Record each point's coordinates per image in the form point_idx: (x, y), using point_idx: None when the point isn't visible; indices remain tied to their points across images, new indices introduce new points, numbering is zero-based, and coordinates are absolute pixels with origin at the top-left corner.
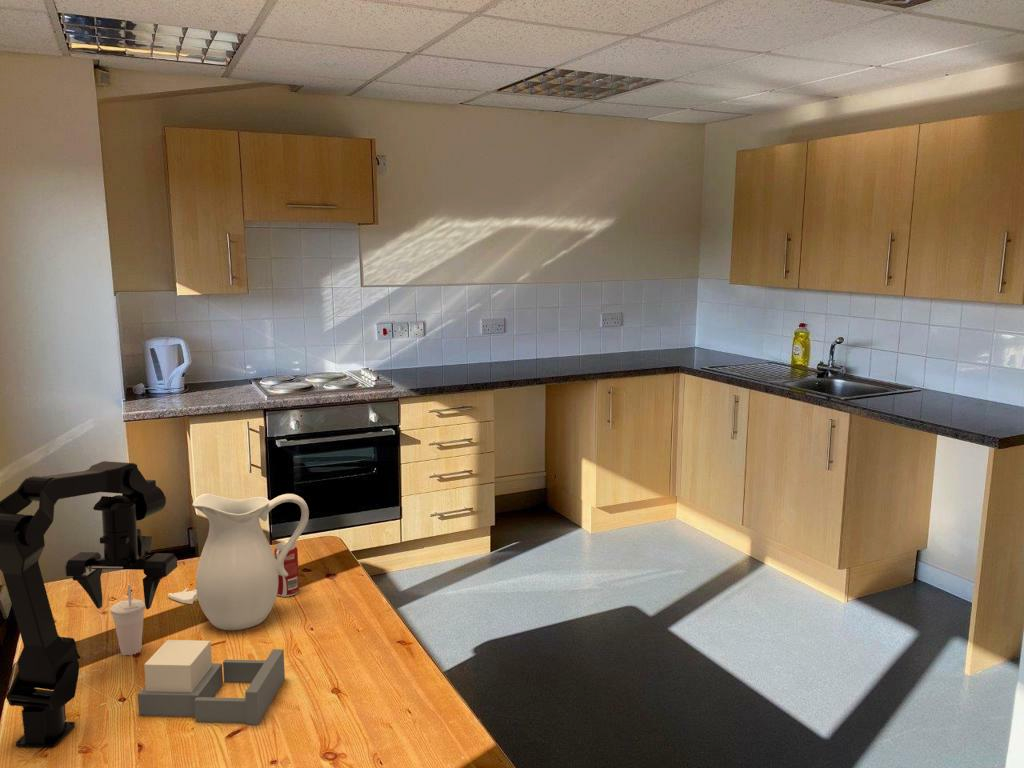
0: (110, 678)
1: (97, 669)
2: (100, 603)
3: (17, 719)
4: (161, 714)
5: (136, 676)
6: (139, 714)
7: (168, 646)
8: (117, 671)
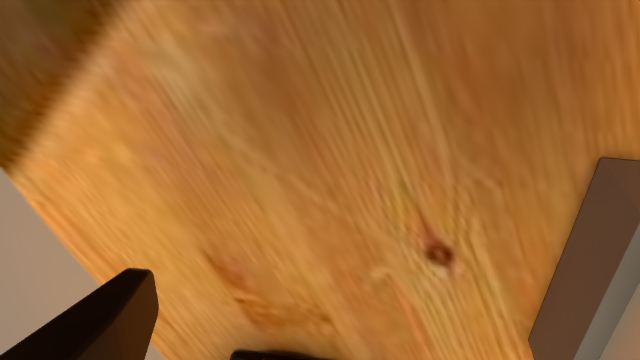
0: (326, 109)
1: (221, 23)
2: (139, 329)
3: None
4: None
5: (442, 98)
6: (530, 344)
7: None
8: (331, 47)
